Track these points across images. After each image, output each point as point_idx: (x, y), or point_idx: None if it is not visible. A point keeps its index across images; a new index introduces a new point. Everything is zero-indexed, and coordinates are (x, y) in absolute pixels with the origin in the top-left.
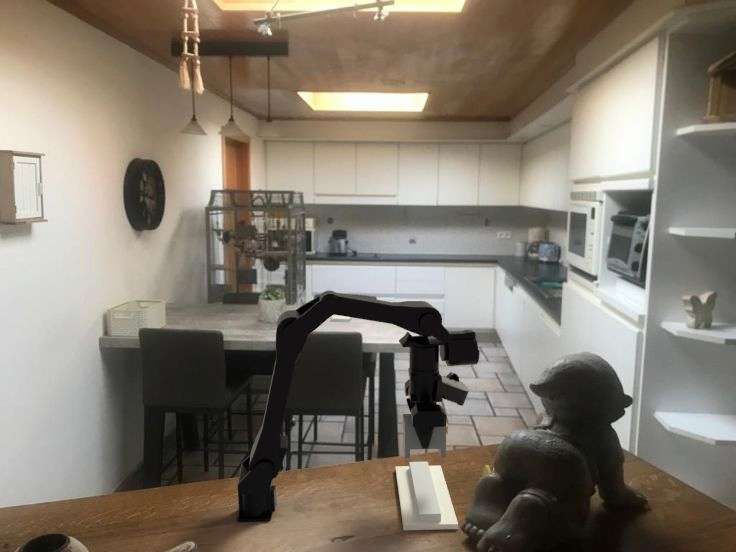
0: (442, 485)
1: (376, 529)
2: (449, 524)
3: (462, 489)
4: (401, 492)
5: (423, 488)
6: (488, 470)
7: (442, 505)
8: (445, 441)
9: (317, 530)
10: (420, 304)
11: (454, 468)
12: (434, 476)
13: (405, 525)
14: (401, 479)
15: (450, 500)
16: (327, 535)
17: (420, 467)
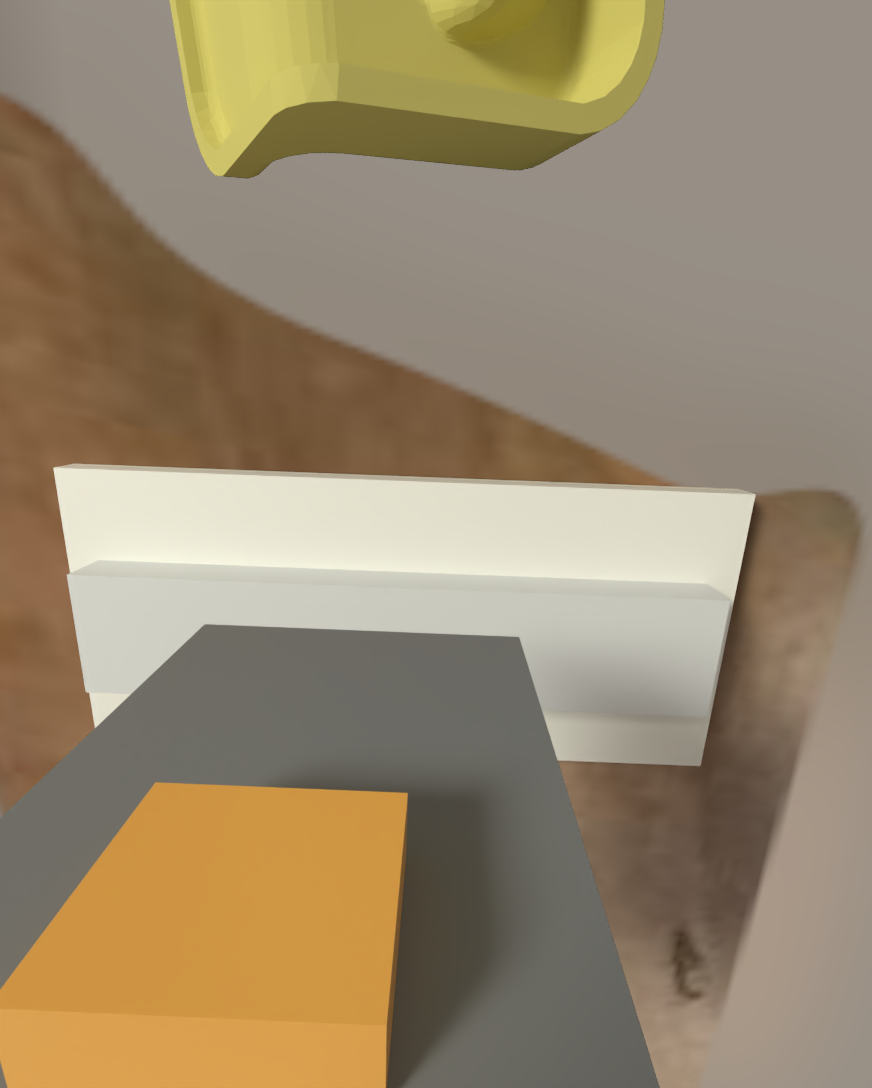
0: (322, 504)
1: (654, 850)
2: (745, 543)
3: (323, 367)
4: None
5: None
6: (377, 98)
7: (551, 547)
8: (559, 790)
9: None
10: None
11: (45, 362)
12: (208, 535)
13: (701, 757)
14: None
15: (503, 489)
16: (657, 1010)
17: (158, 635)
